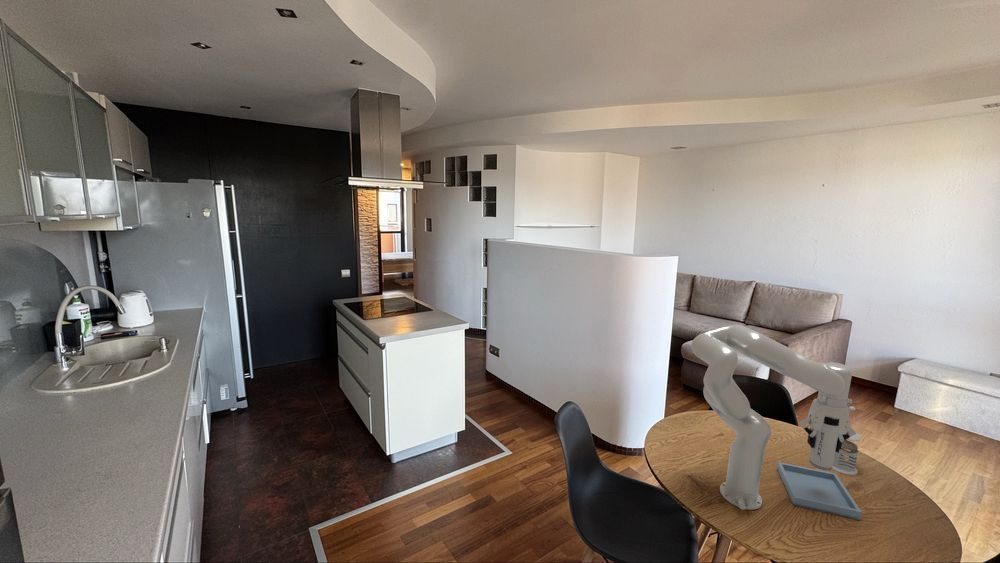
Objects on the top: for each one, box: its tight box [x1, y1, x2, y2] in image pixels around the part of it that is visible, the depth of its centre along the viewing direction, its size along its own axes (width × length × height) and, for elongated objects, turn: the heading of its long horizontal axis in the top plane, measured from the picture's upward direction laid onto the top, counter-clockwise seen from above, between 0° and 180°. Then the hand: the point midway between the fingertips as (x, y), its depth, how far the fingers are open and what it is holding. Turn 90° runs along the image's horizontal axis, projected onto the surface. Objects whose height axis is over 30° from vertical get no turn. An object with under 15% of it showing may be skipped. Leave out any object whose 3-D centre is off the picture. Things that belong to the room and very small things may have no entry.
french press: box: [831, 406, 862, 476], centre depth 152 cm, size 10×12×25 cm
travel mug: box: [808, 417, 839, 471], centre depth 136 cm, size 6×7×20 cm
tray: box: [776, 461, 862, 521], centre depth 140 cm, size 20×18×3 cm
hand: (823, 447), depth 137 cm, fingers closed on travel mug, 6 cm apart
